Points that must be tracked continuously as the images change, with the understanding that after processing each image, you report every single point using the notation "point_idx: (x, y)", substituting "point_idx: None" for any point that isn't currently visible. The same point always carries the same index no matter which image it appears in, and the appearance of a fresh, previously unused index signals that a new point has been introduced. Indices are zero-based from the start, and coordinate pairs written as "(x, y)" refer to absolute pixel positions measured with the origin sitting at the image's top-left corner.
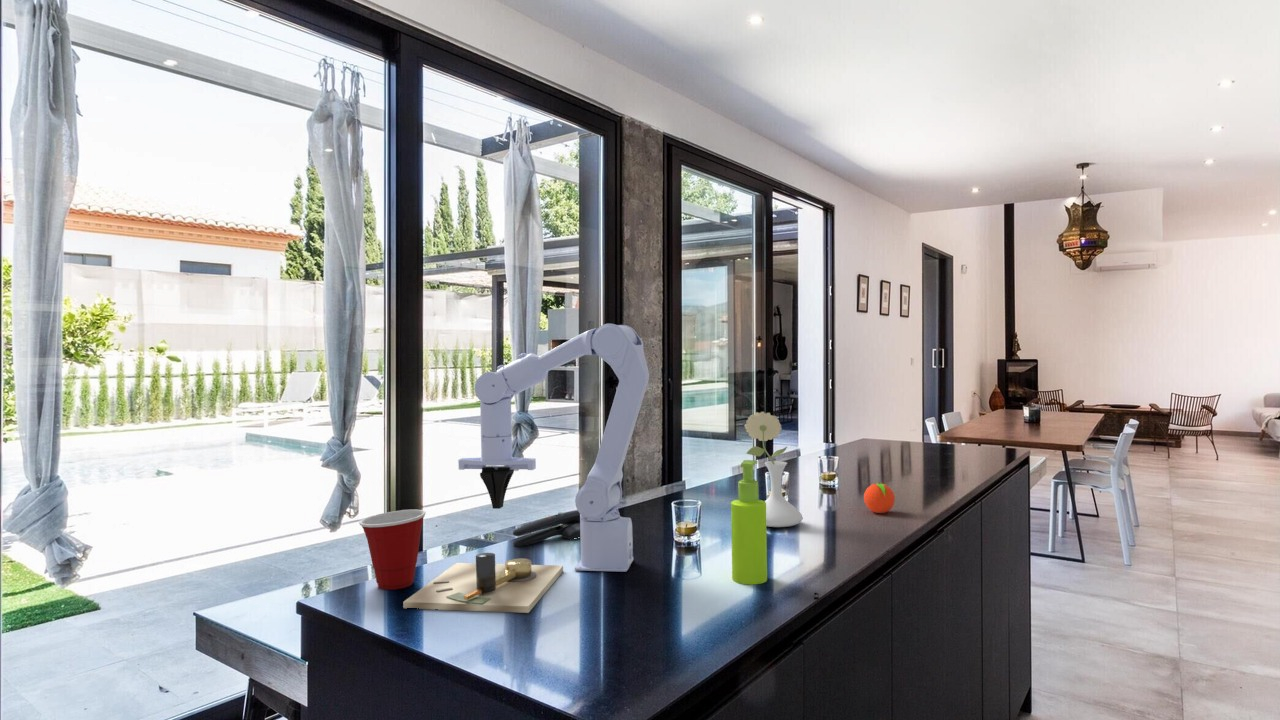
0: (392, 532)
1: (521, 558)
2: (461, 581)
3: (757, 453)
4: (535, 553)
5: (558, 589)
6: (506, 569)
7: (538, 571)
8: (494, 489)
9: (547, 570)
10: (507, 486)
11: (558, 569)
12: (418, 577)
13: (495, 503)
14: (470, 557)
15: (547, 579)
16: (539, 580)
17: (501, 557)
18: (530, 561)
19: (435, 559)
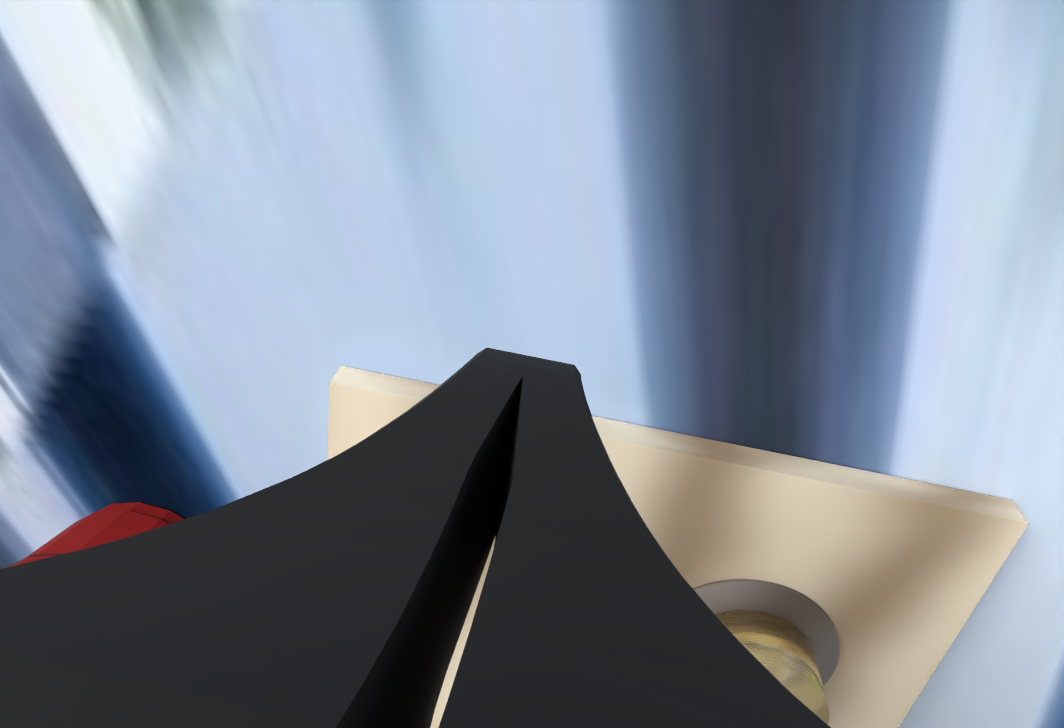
0: None
1: (770, 668)
2: None
3: None
4: (866, 41)
5: (930, 721)
6: None
7: (855, 594)
8: (434, 689)
9: (911, 587)
10: (650, 534)
11: (982, 581)
12: (205, 483)
13: (495, 539)
14: (345, 120)
15: (892, 702)
16: (849, 708)
17: (583, 143)
18: (824, 719)
19: (117, 150)
